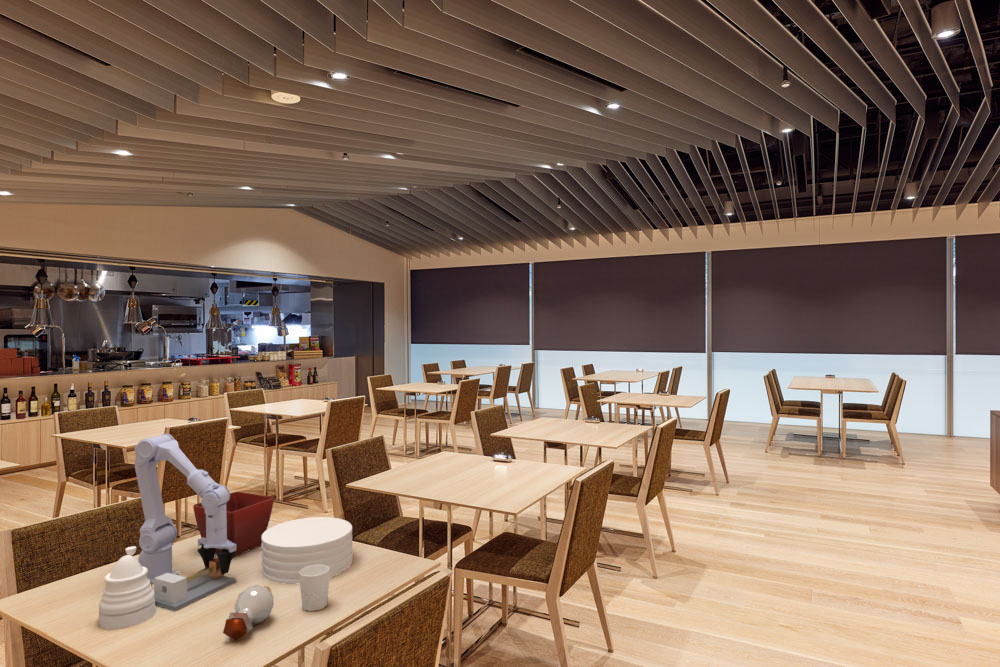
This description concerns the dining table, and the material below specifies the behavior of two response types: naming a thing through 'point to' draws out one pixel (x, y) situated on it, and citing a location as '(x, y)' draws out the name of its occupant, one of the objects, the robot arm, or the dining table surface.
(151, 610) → the honey pot
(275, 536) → the plate stack
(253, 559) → the dining table surface
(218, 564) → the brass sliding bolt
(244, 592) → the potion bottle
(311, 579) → the white cup
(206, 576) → the block
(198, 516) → the plant pot
